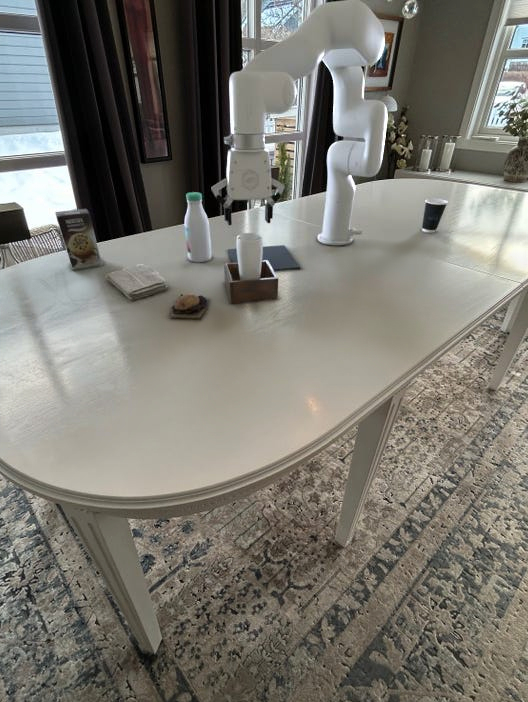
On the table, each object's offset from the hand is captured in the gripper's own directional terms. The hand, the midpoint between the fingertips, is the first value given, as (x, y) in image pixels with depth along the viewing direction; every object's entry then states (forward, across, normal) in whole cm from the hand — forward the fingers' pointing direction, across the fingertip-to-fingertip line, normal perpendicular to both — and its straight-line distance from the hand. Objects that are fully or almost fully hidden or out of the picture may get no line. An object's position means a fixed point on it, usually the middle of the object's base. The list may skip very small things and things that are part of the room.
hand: (248, 222), depth 91 cm
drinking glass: (+19, 0, 0) cm, 19 cm away
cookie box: (+19, -48, +29) cm, 59 cm away
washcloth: (+19, -31, +10) cm, 37 cm away
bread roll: (+19, -17, -7) cm, 26 cm away
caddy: (+19, 0, 0) cm, 19 cm away
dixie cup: (+18, +78, +38) cm, 89 cm away
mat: (+18, +8, +22) cm, 30 cm away
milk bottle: (+19, -12, +27) cm, 35 cm away
